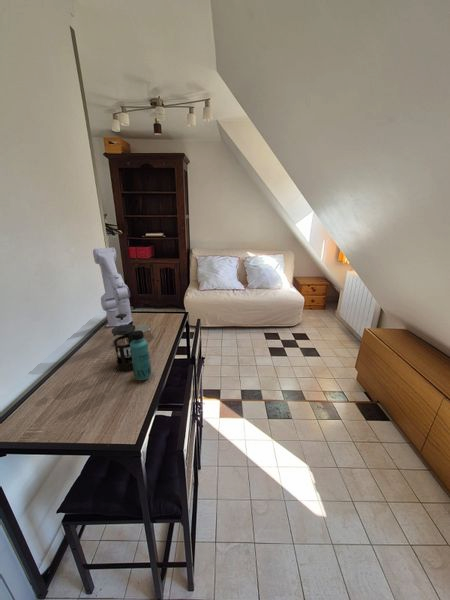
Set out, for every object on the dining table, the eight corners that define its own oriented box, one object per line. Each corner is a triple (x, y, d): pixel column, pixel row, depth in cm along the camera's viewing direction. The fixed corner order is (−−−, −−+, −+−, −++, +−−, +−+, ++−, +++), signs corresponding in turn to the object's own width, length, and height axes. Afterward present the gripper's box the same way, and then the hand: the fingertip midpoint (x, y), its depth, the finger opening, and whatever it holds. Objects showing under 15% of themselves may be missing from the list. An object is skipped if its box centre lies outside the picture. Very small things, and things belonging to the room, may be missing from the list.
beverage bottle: (131, 380, 95) (123, 334, 88) (143, 371, 101) (137, 326, 94) (143, 385, 92) (136, 338, 86) (156, 375, 98) (150, 330, 91)
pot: (135, 334, 131) (133, 323, 129) (152, 332, 132) (151, 322, 130) (130, 345, 120) (129, 334, 118) (150, 343, 121) (148, 332, 119)
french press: (135, 373, 100) (127, 320, 92) (112, 372, 100) (102, 320, 92) (145, 356, 111) (138, 308, 103) (124, 356, 111) (116, 308, 103)
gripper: (119, 306, 126) (123, 330, 131) (111, 317, 113) (116, 344, 118) (134, 305, 127) (137, 329, 132) (127, 316, 114) (131, 342, 118)
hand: (128, 336), depth 125 cm, fingers closed, pressing on pot
